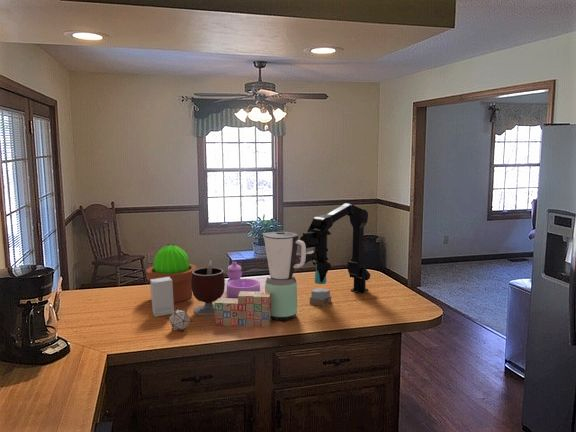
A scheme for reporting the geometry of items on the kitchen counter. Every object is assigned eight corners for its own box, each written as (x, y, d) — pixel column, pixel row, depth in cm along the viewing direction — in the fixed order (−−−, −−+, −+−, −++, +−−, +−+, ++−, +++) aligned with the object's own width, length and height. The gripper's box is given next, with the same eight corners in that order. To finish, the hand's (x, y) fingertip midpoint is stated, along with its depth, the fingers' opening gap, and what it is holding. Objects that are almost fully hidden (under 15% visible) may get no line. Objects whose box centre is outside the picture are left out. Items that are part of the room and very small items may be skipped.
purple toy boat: (264, 299, 224) (264, 271, 222) (232, 303, 218) (231, 274, 216) (247, 284, 247) (247, 259, 245) (217, 288, 241) (217, 262, 239)
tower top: (318, 294, 222) (318, 287, 222) (330, 296, 219) (330, 290, 218) (311, 297, 217) (311, 291, 217) (322, 300, 214) (322, 293, 213)
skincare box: (171, 309, 209) (170, 276, 207) (174, 314, 204) (173, 279, 202) (151, 312, 206) (149, 278, 203) (154, 317, 200) (152, 282, 198)
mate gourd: (222, 316, 202) (221, 268, 199) (189, 316, 202) (187, 268, 199) (227, 304, 217) (227, 259, 214) (196, 303, 217) (195, 259, 214)
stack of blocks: (214, 325, 191) (214, 295, 190) (218, 320, 198) (217, 290, 196) (269, 327, 190) (269, 296, 188) (271, 321, 196) (271, 291, 194)
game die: (176, 338, 189) (169, 313, 192) (197, 329, 189) (190, 305, 193) (168, 334, 180) (161, 309, 184) (190, 326, 181) (182, 301, 184)
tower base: (317, 300, 223) (317, 293, 223) (331, 302, 220) (331, 296, 219) (309, 304, 218) (309, 297, 217) (323, 307, 214) (323, 300, 213)
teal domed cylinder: (318, 280, 221) (318, 269, 220) (328, 282, 218) (328, 271, 217) (312, 283, 217) (312, 271, 216) (322, 284, 214) (322, 273, 213)
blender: (255, 318, 198) (254, 233, 193) (269, 308, 211) (269, 228, 205) (299, 325, 191) (299, 237, 186) (311, 314, 203) (311, 231, 198)
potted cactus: (181, 307, 213) (179, 250, 209) (138, 301, 220) (135, 247, 216) (205, 292, 233) (204, 240, 230) (165, 288, 240) (163, 238, 237)
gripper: (300, 241, 223) (300, 275, 226) (305, 250, 205) (304, 286, 207) (324, 241, 224) (324, 274, 227) (331, 250, 206) (331, 286, 208)
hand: (320, 280), depth 217 cm, fingers closed on teal domed cylinder, 5 cm apart
